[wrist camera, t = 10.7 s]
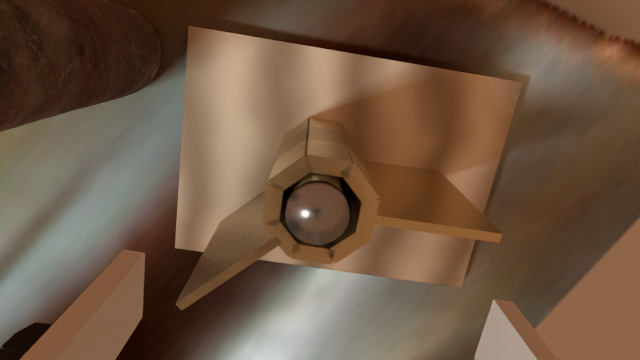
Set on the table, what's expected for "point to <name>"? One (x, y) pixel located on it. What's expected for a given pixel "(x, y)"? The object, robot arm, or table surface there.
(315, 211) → the hinge pin
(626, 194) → the table surface
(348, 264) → the board
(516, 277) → the table surface
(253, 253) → the hinge
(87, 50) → the candle
